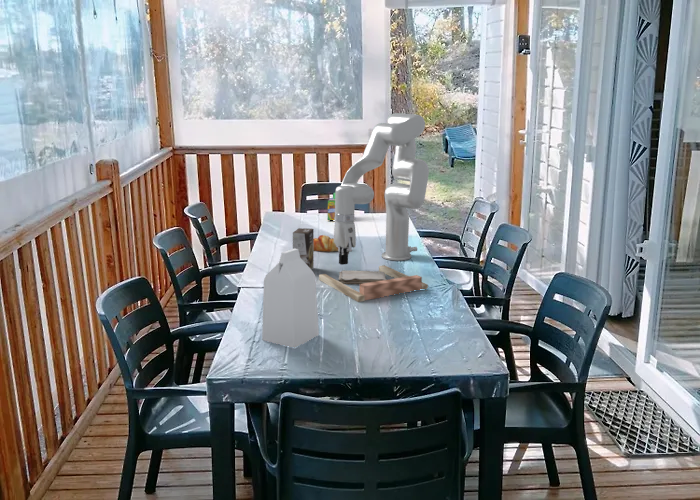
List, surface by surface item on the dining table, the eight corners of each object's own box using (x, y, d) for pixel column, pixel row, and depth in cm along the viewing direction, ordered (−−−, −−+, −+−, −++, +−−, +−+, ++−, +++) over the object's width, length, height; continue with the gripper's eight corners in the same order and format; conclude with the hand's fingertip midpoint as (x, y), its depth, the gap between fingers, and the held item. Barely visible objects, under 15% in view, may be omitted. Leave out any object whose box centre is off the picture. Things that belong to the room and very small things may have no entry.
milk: (294, 348, 182) (293, 258, 175) (262, 340, 188) (260, 252, 181) (319, 335, 192) (319, 249, 185) (287, 327, 198) (286, 243, 191)
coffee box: (308, 274, 253) (308, 233, 249) (292, 272, 255) (291, 232, 251) (314, 267, 262) (314, 228, 258) (298, 266, 263) (298, 227, 259)
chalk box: (327, 221, 350) (327, 194, 347) (330, 218, 359) (330, 191, 355) (344, 222, 349) (344, 194, 345) (347, 218, 358) (347, 192, 354)
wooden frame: (384, 270, 260) (384, 257, 259) (427, 289, 236) (428, 276, 234) (319, 279, 246) (319, 267, 245) (358, 302, 221) (358, 287, 220)
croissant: (349, 256, 294) (350, 239, 296) (349, 251, 284) (350, 233, 286) (302, 254, 295) (304, 237, 297) (300, 248, 285) (301, 231, 287)
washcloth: (338, 276, 253) (338, 268, 252) (385, 276, 253) (385, 269, 252) (338, 285, 241) (338, 277, 240) (386, 286, 241) (387, 278, 240)
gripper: (362, 220, 249) (361, 267, 253) (343, 214, 261) (342, 258, 265) (345, 222, 245) (344, 269, 249) (326, 215, 257) (326, 260, 262)
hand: (343, 263), depth 257 cm, fingers closed
